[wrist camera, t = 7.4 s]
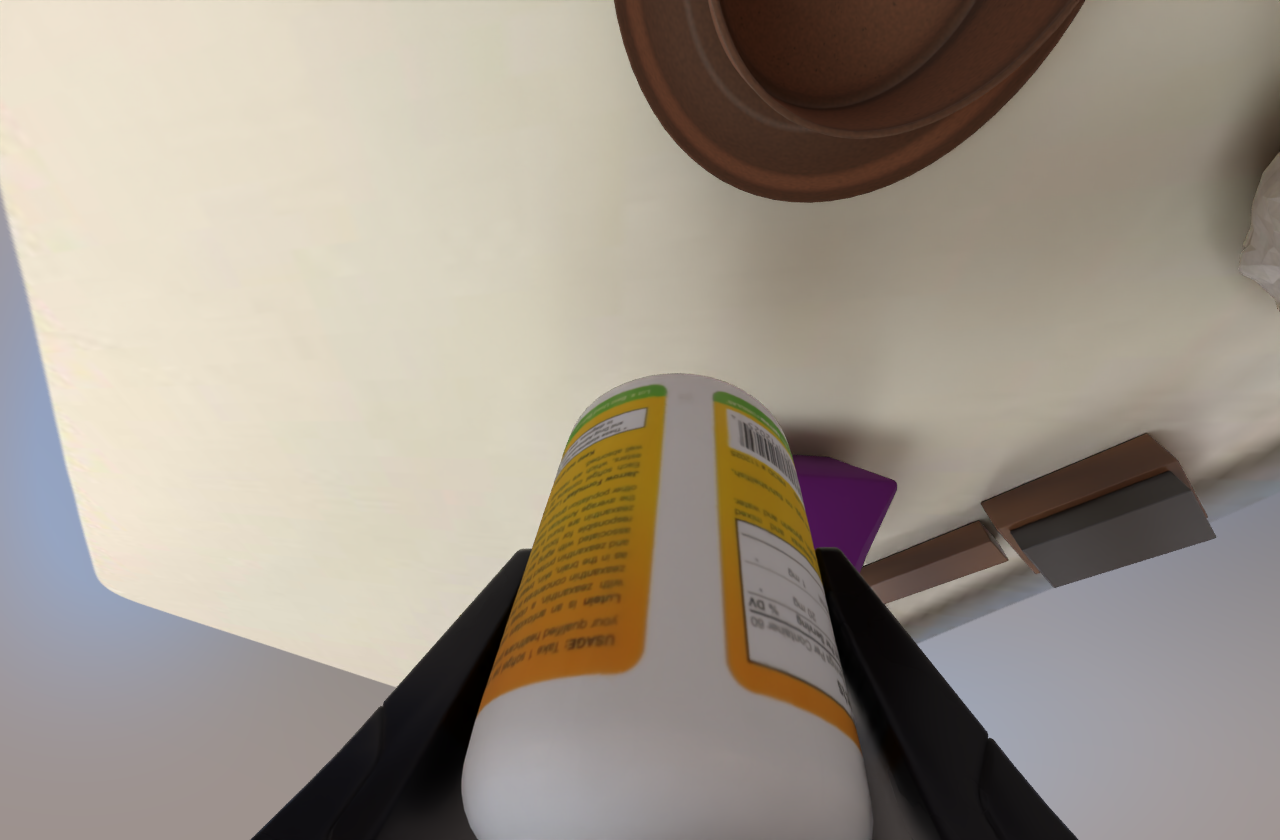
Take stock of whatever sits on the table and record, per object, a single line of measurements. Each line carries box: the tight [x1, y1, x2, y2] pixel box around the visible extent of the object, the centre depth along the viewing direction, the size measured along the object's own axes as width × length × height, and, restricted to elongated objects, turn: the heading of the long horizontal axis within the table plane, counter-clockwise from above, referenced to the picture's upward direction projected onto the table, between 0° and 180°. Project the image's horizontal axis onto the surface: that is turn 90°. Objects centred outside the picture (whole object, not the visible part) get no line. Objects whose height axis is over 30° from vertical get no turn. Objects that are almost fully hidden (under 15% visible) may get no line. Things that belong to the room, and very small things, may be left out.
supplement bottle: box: [462, 373, 873, 840], centre depth 8 cm, size 5×5×10 cm
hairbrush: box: [860, 434, 1216, 604], centre depth 26 cm, size 18×5×3 cm, turn 136°
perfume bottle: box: [792, 455, 897, 573], centre depth 18 cm, size 8×8×18 cm
